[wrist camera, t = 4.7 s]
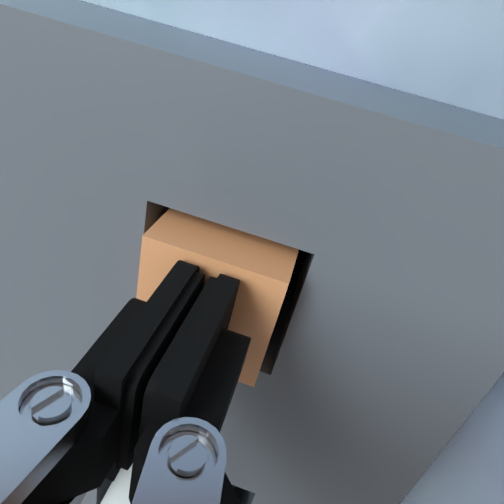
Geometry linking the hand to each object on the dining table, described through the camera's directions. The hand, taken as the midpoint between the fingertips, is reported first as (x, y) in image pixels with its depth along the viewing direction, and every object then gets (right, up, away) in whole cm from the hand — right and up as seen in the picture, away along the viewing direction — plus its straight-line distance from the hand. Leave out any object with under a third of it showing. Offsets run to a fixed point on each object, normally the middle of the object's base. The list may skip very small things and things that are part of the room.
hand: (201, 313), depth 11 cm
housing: (0, -3, +8) cm, 8 cm away
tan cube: (+1, +2, +4) cm, 4 cm away
